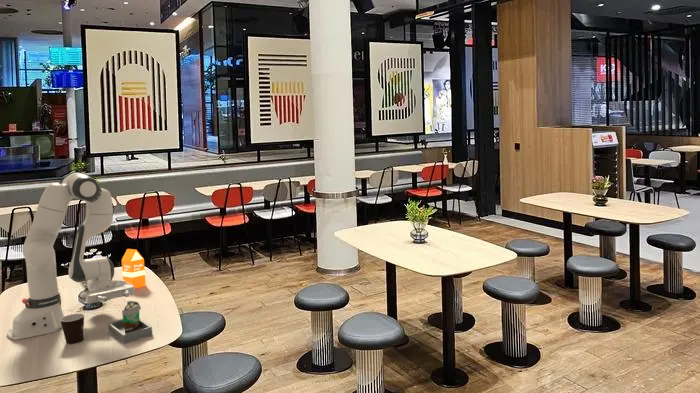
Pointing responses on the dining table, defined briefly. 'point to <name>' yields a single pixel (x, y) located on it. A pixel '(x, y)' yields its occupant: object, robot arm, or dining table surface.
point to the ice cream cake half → (131, 316)
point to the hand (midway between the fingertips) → (116, 297)
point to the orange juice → (133, 268)
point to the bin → (119, 332)
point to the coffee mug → (73, 328)
